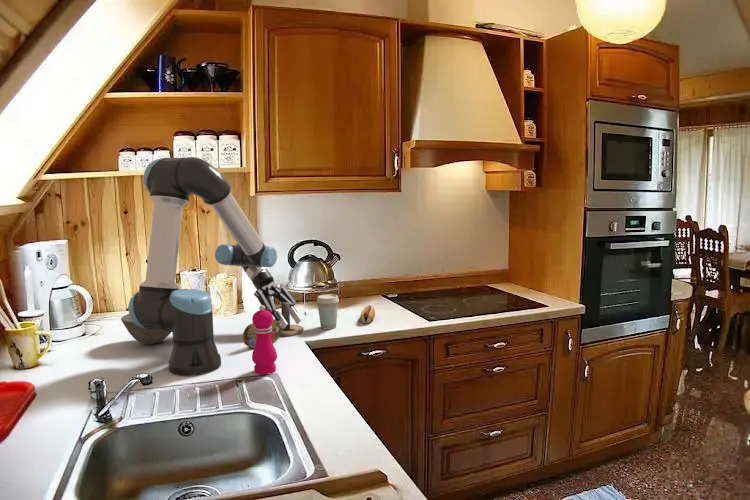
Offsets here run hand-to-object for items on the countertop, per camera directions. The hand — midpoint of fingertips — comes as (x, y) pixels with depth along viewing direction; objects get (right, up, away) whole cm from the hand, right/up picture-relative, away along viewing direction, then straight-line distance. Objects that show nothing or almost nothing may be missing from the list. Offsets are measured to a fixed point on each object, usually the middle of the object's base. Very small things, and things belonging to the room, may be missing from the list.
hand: (292, 324), depth 195 cm
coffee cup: (+13, -2, +8) cm, 15 cm away
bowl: (-48, -6, -8) cm, 49 cm away
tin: (-8, -6, -12) cm, 16 cm away
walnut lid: (-3, -3, +3) cm, 5 cm away
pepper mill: (-2, -9, -38) cm, 39 cm away
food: (+27, -1, +17) cm, 33 cm away
